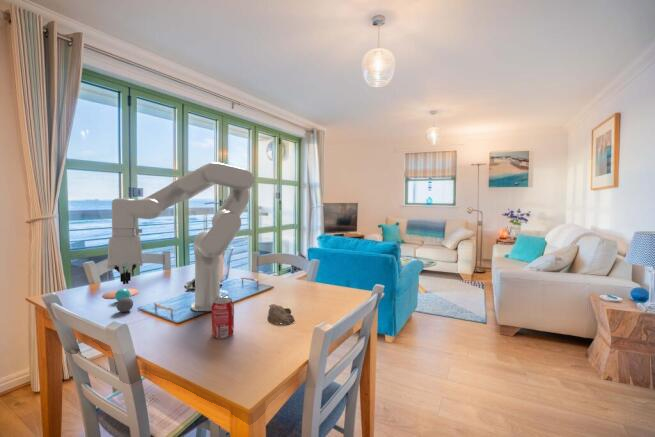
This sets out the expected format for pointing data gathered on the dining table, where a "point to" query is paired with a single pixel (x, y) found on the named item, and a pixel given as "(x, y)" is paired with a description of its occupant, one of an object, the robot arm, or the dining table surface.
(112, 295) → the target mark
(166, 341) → the dining table surface
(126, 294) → the object ball
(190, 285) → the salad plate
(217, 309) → the soda can
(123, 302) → the grey rounded lump
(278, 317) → the oyster shell
